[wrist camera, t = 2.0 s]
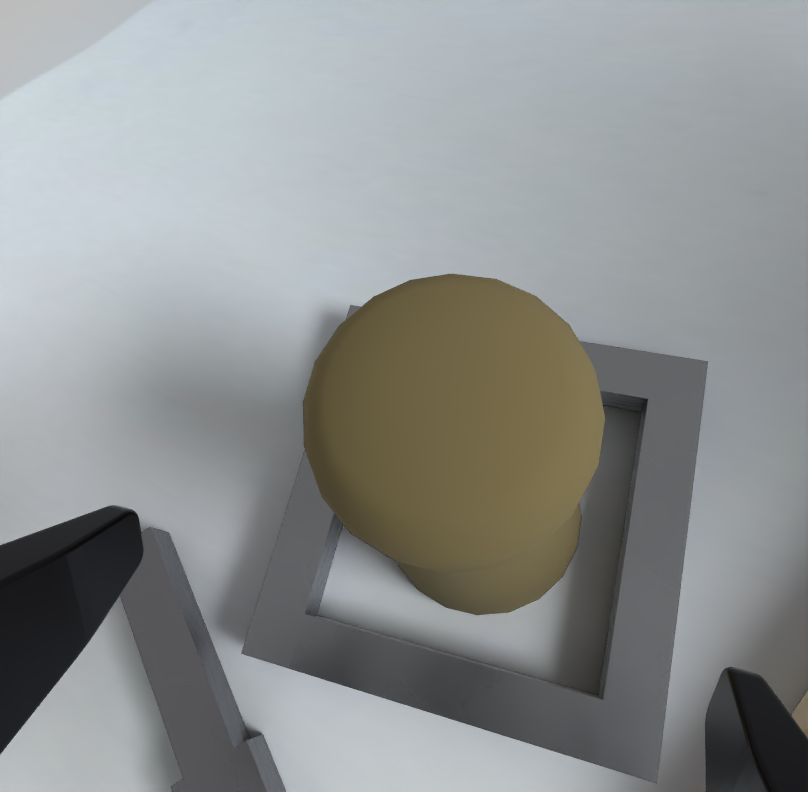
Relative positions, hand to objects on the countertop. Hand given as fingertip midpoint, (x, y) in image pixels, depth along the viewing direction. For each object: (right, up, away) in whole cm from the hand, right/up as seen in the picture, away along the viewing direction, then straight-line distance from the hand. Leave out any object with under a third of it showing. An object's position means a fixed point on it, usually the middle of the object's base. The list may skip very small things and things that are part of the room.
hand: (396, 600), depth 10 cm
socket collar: (+3, -1, +10) cm, 11 cm away
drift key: (-6, -5, +10) cm, 13 cm away
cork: (+3, -1, +11) cm, 11 cm away
